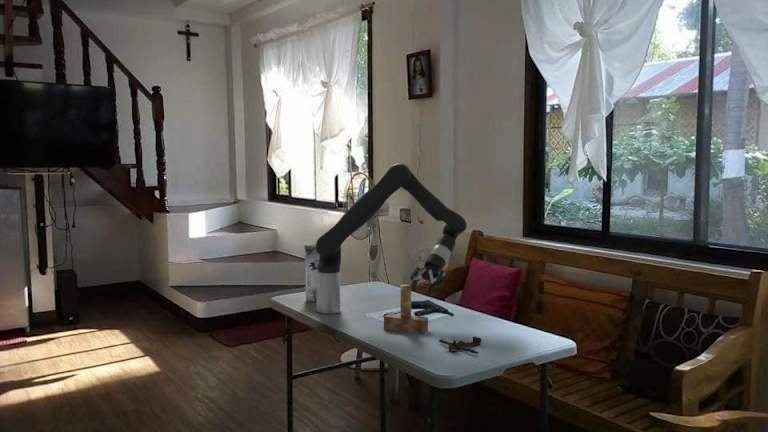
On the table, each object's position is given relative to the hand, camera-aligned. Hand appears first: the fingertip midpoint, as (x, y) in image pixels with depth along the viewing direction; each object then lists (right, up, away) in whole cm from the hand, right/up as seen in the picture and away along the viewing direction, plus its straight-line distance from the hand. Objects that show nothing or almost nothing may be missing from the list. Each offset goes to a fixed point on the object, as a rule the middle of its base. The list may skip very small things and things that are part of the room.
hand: (419, 291), depth 237 cm
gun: (+4, -12, +24) cm, 27 cm away
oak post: (-5, -9, -5) cm, 12 cm away
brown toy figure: (+13, -17, -27) cm, 34 cm away
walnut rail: (-5, -14, -4) cm, 16 cm away
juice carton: (-44, -10, +45) cm, 64 cm away
